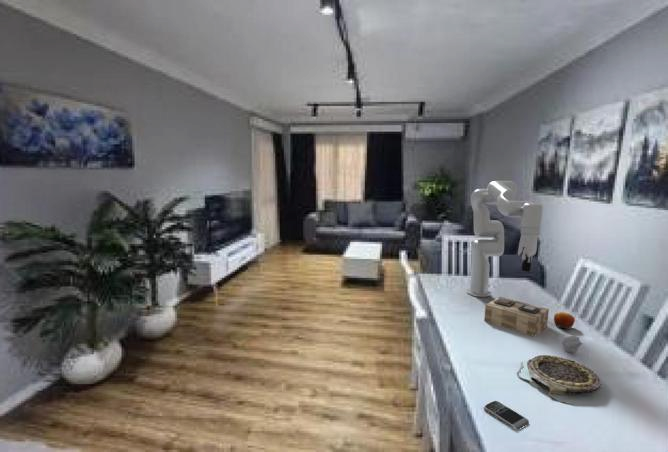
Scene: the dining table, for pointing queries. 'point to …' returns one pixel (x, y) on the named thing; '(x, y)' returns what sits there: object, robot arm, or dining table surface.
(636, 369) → the dining table surface
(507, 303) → the walnut peg
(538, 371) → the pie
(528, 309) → the grey metal peg
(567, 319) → the fruit
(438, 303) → the dining table surface
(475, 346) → the dining table surface
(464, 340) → the dining table surface
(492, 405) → the cell phone
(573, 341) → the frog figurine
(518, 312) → the oak block
